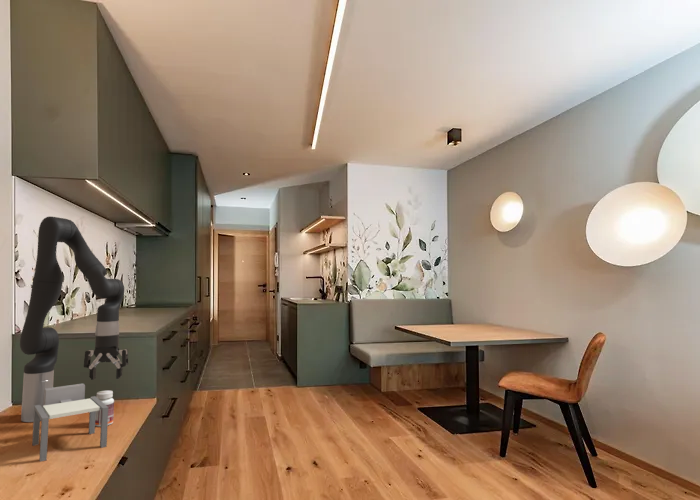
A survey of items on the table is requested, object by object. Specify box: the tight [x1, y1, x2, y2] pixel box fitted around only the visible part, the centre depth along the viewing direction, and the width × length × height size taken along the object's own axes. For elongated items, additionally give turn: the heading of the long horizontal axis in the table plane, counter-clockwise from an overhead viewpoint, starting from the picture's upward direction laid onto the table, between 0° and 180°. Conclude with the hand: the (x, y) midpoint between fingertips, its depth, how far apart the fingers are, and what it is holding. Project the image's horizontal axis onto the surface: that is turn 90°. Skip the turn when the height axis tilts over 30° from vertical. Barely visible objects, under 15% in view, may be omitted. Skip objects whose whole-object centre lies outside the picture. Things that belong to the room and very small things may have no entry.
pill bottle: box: [95, 390, 115, 428], centre depth 156 cm, size 6×6×11 cm
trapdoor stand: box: [31, 395, 109, 463], centre depth 136 cm, size 17×17×12 cm
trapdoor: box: [43, 383, 100, 420], centre depth 139 cm, size 19×13×5 cm
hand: (105, 378), depth 157 cm, fingers open, 8 cm apart
